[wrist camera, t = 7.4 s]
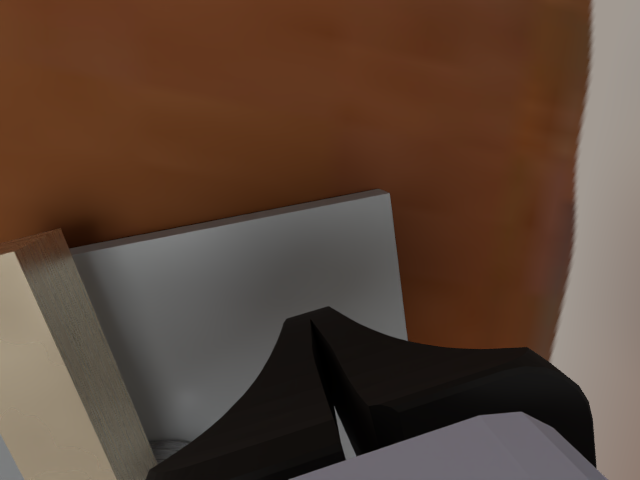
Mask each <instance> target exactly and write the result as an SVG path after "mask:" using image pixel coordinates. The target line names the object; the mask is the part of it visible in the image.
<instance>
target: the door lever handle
mask: <svg viewBox="0 0 640 480" xmlns="http://www.w3.org/2000/svg"><path fill="white" fill-rule="evenodd" d="M0 434H1V436H2V438H3V440H4V442H5V444H6V446H7V448H8V450H9V452H10V453H11V455H12V457H13V459H14V461H15V463H16V465H17V467H18V469H19V471H20V472H21V474H22V476H23V478H24V480H145V479H146V477H147V474H148V472H149V470H150V469H151V468H153V467H154V466H156V465H158V464H159V463H161V462H162V461H164V460H165V459H167V458H168V457H170V456H171V455H173V454H174V453H176V452H177V451H179V450H180V449H182V448H183V447H185V446H186V445H188V444H189V443H187V442H182V441H171V440H169V441H153V442H149V441H148V439H147V437H146V434H145V432H144V429H143V427H142V424H141V422H140V420H139V417H138V415H137V412H136V410H135V407H134V405H133V403H132V400H131V398H130V395H129V393H128V390H127V388H126V386H125V383H124V381H123V378H122V376H121V373H120V371H119V369H118V366H117V364H116V361H115V359H114V357H113V354H112V352H111V349H110V347H109V344H108V342H107V340H106V337H105V335H104V332H103V330H102V327H101V325H100V323H99V320H98V318H97V315H96V313H95V310H94V308H93V306H92V303H91V301H90V298H89V296H88V293H87V291H86V289H85V286H84V284H83V281H82V279H81V276H80V274H79V272H78V269H77V267H76V264H75V262H74V259H73V257H72V255H71V252H70V250H69V247H68V245H67V243H66V240H65V238H64V235H63V233H62V230H61V228H59V229H55V230H51V231H47V232H43V233H39V234H35V235H31V236H27V237H23V238H19V239H15V240H11V241H7V242H3V243H0Z"/></svg>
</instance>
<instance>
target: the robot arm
mask: <svg viewBox="0 0 640 480" xmlns="http://www.w3.org/2000/svg"><path fill="white" fill-rule="evenodd" d="M334 407H335V408H334ZM335 409H336V411H337V414H338V416H339V418H340V420H341V423H342V425H343V427H344V430H345V432H346V434H347V436H348V438H349V441H350V443H351V445H352V447H353V450H354V452H355V454H356V456H357V457H354V458H351V459H348V460H346V458H345V455H344V451H343V448H342V444H341V440H340V435H339V429H338V424H337V419H336V414H335ZM593 431H594V430H593V418H592V414H591V410H590V406H589V402H588V400H587V398H586V396H585V395H584V393H583V392H582V390H581V388H580V387H579V385H577V384H576V383H575V382H573V381H572V380H571V379H570V378H568V377H567V376H566V375H565V374H564V373H562V372H561V371H560V370H558V369H557V368H556V367H554V366H553V365H552V364H551V363H550V362H548V361H547V360H545V359H544V358H542V357H541V356H540V355H538V354H537V353H535V352H534V351H532V350H530V349H529V348H528V347H522V348H502V349H458V348H446V347H438V346H431V345H425V344H419V343H414V342H410V341H406V340H402V339H399V338H395V337H391V336H388V335H385V334H383V333H380V332H378V331H375V330H373V329H370V328H368V327H366V326H364V325H361V324H359V323H357V322H355V321H353V320H352V319H350V318H348V317H346V316H345V315H343V314H341V313H340V312H338V311H336V310H335V309H333V308H331V307H329V306H327V307H324V308H320V309H317V310H314V311H310V312H307V313H304V314H300V315H297V316H293V317H290V318H287V319H286V320H285V321H284V323H283V326H282V329H281V332H280V335H279V337H278V340H277V342H276V344H275V346H274V348H273V350H272V353H271V355H270V357H269V358H268V360H267V362H266V364H265V365H264V367H263V369H262V371H261V372H260V374H259V375H258V377H257V378H256V380H255V381H254V382H253V384H252V385H251V386H250V387H249V389H248V390H247V391H246V392H245V393H244V395H243V396H242V397H241V398H240V399H239V400H238V401H237V402H236V403H235V404H234V405H233V406H232V407H231V408H230V409H229V410H228V411H227V412H226V413H225V414H224V415H223V416H222V417H221V418H220V419H219V420H218V421H217V422H215V423H214V424H213V425H212V426H211V427H210V428H208V429H207V430H206V431H205V432H203V433H202V434H201V435H200V436H198V437H197V438H196V439H195V440H193V441H192V442H190V443H189V444H188V445H186V446H185V447H183V448H182V449H180V450H179V451H177V452H176V453H174V454H173V455H171V456H170V457H168V458H167V459H165V460H164V461H162V462H161V463H159V464H158V465H156V466H154V467H153V468H151V469H150V470H149V472H148V474H147V477H146V479H145V480H608V479H607V478H606V477H604V476H603V475H602V474H601V473H600V472H599V471H598V470H597V469H596V456H595V443H594V432H593Z"/></svg>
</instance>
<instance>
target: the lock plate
mask: <svg viewBox="0 0 640 480" xmlns="http://www.w3.org/2000/svg"><path fill="white" fill-rule="evenodd" d="M69 250H70V252H71V255H72V257H73V259H74V262H75V264H76V267H77V269H78V272H79V274H80V276H81V279H82V281H83V284H84V286H85V289H86V291H87V293H88V296H89V298H90V301H91V303H92V306H93V308H94V310H95V313H96V315H97V318H98V320H99V323H100V325H101V327H102V330H103V332H104V335H105V337H106V340H107V342H108V344H109V347H110V349H111V352H112V354H113V357H114V359H115V361H116V364H117V366H118V369H119V371H120V373H121V376H122V378H123V381H124V383H125V386H126V388H127V390H128V393H129V395H130V398H131V400H132V403H133V405H134V407H135V410H136V412H137V415H138V417H139V420H140V422H141V424H142V427H143V429H144V432H145V434H146V437H147V439H148V441H149V442H153V441H169V440H171V441H182V442H187V443H190V442H192V441H193V440H195V439H196V438H197V437H198V436H200V435H201V434H202V433H203V432H205V431H206V430H207V429H208V428H210V427H211V426H212V425H213V424H214V423H215V422H217V421H218V420H219V419H220V418H221V417H222V416H223V415H224V414H225V413H226V412H227V411H228V410H229V409H230V408H231V407H232V406H233V405H234V404H235V403H236V402H237V401H238V400H239V399H240V398H241V397H242V396H243V395H244V393H245V392H246V391H247V390H248V389H249V387H250V386H251V385H252V384H253V382H254V381H255V380H256V378H257V377H258V375H259V374H260V372H261V371H262V369H263V367H264V365H265V364H266V362H267V360H268V358H269V357H270V355H271V353H272V350H273V348H274V346H275V344H276V342H277V340H278V337H279V335H280V332H281V329H282V326H283V323H284V321H285V320H286V319H287V318H290V317H293V316H297V315H300V314H304V313H307V312H310V311H314V310H317V309H320V308H324V307H327V306H329V307H331V308H333V309H335V310H336V311H338V312H340V313H341V314H343V315H345V316H346V317H348V318H350V319H352V320H353V321H355V322H357V323H359V324H361V325H364V326H366V327H368V328H370V329H373V330H375V331H378V332H380V333H383V334H385V335H388V336H391V337H395V338H399V339H402V340H406V341H408V339H407V331H406V323H405V315H404V307H403V298H402V290H401V282H400V274H399V265H398V257H397V249H396V241H395V233H394V224H393V216H392V208H391V200H390V193H388V192H386V191H383V190H381V189H375V190H370V191H365V192H360V193H354V194H349V195H344V196H339V197H334V198H328V199H323V200H318V201H313V202H308V203H303V204H297V205H292V206H287V207H282V208H277V209H272V210H266V211H261V212H256V213H251V214H246V215H240V216H235V217H230V218H225V219H220V220H215V221H209V222H204V223H199V224H194V225H189V226H183V227H178V228H173V229H168V230H163V231H158V232H152V233H147V234H142V235H137V236H132V237H127V238H121V239H116V240H111V241H106V242H101V243H95V244H90V245H85V246H80V247H75V248H70V249H69ZM334 408H335V407H334ZM335 414H336V419H337V424H338V429H339V435H340V440H341V444H342V448H343V451H344V455H345V458H346V460H348V459H351V458H354V457H357V456H356V454H355V452H354V450H353V447H352V445H351V443H350V441H349V438H348V436H347V434H346V432H345V430H344V427H343V425H342V423H341V420H340V418H339V416H338V414H337V411H336V409H335ZM0 480H24V478H23V476H22V474H21V472H20V471H19V469H18V467H17V465H16V463H15V461H14V459H13V457H12V455H11V453H10V452H9V450H8V448H7V446H6V444H5V442H4V440H3V438H2V436H1V434H0Z"/></svg>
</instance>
